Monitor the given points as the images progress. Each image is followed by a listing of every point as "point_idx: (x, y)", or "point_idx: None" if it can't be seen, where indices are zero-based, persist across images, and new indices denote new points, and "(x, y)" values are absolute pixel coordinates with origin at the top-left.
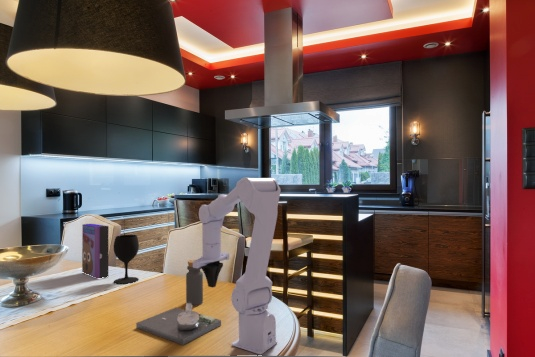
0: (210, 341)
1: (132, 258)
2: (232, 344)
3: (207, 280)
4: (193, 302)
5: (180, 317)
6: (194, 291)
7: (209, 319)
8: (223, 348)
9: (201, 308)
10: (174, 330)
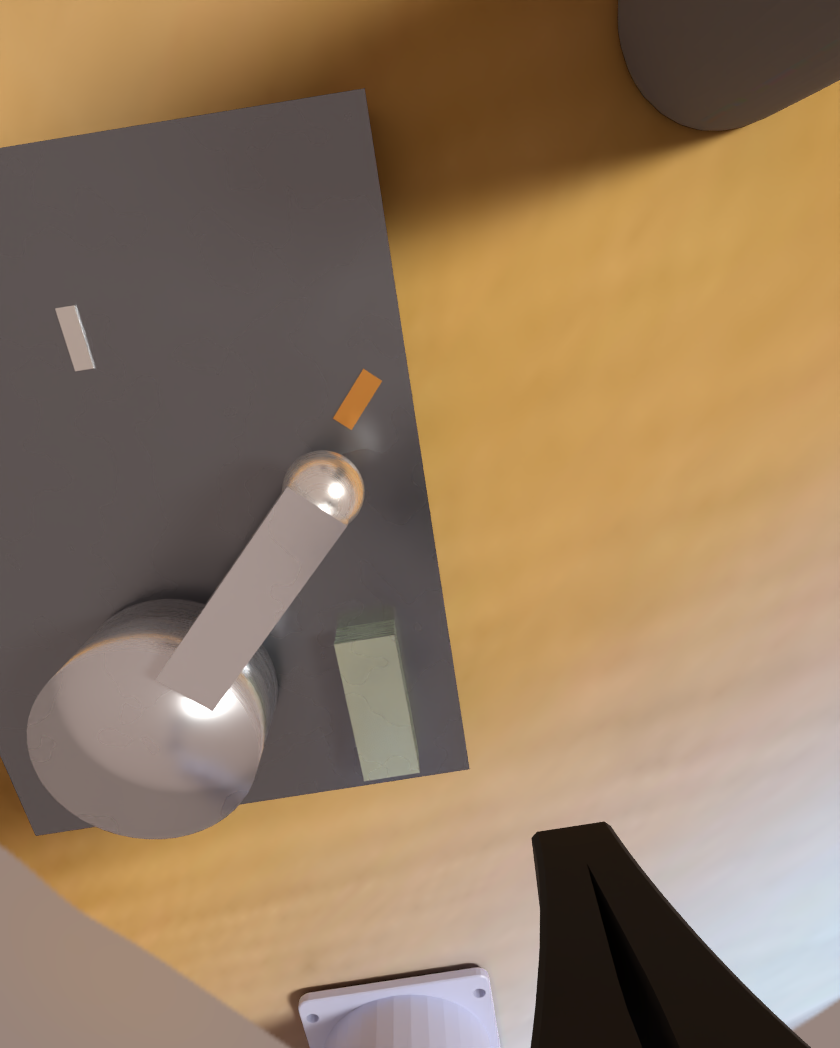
0: (238, 875)
1: None
2: (299, 1007)
3: (544, 936)
4: (659, 84)
5: (46, 752)
6: (754, 26)
7: (362, 767)
8: (245, 980)
9: (639, 265)
10: (47, 666)
